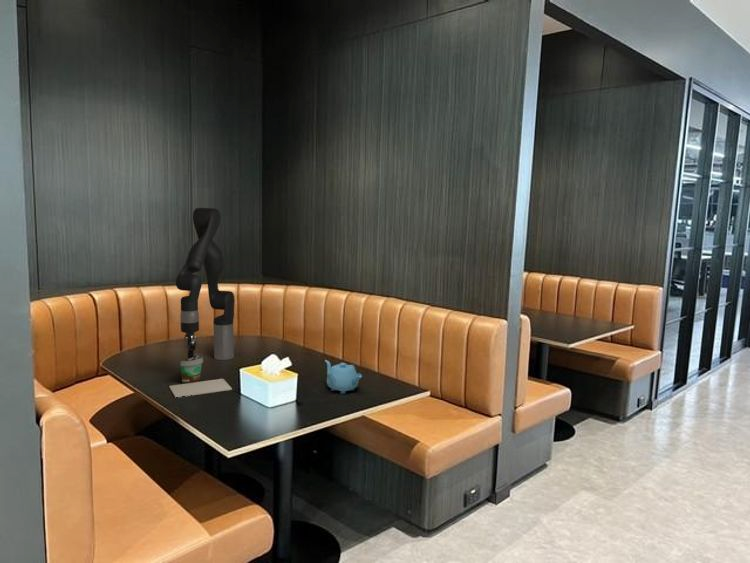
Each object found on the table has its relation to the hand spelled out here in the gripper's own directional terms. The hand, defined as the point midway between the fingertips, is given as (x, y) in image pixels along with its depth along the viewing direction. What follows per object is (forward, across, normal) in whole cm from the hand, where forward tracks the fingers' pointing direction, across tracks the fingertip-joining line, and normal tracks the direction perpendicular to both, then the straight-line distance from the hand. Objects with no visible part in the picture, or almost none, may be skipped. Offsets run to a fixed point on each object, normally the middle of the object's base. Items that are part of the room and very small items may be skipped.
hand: (190, 359), depth 238 cm
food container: (+8, -7, 0) cm, 10 cm away
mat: (+8, -18, 0) cm, 19 cm away
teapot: (+8, -44, -52) cm, 68 cm away
